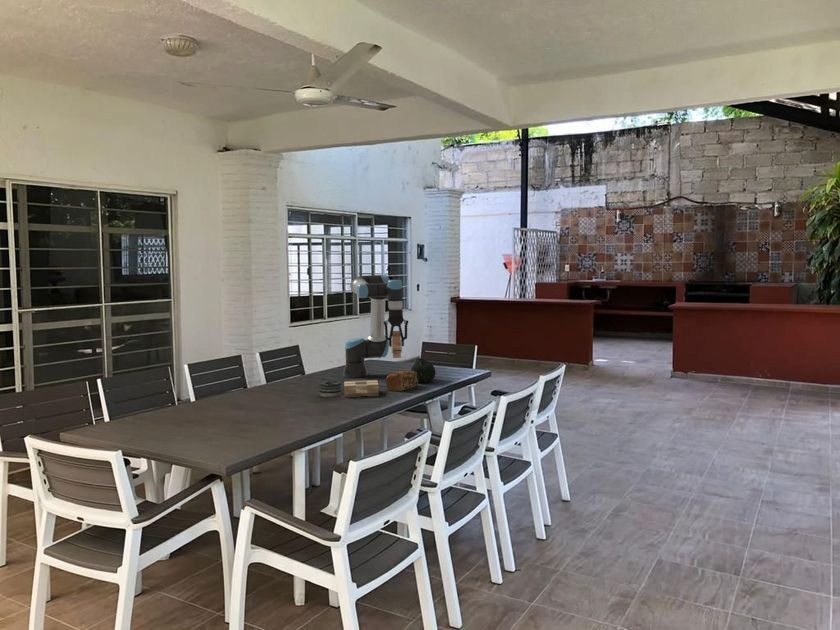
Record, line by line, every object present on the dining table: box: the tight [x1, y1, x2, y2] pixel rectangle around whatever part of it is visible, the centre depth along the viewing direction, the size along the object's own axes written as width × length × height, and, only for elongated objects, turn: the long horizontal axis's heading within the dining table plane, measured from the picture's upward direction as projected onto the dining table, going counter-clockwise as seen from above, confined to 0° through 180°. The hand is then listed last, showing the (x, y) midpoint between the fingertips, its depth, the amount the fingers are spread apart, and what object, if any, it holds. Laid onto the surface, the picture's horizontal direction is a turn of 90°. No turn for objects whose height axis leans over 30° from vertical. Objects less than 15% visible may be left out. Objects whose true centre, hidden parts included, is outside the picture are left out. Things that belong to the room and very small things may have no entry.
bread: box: [385, 369, 419, 392], centre depth 368 cm, size 19×11×10 cm, turn 148°
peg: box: [392, 330, 402, 359], centre depth 350 cm, size 4×4×14 cm
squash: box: [410, 357, 437, 384], centre depth 385 cm, size 14×15×15 cm
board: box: [343, 379, 380, 398], centre depth 354 cm, size 14×18×6 cm
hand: (396, 352), depth 351 cm, fingers closed on peg, 4 cm apart
